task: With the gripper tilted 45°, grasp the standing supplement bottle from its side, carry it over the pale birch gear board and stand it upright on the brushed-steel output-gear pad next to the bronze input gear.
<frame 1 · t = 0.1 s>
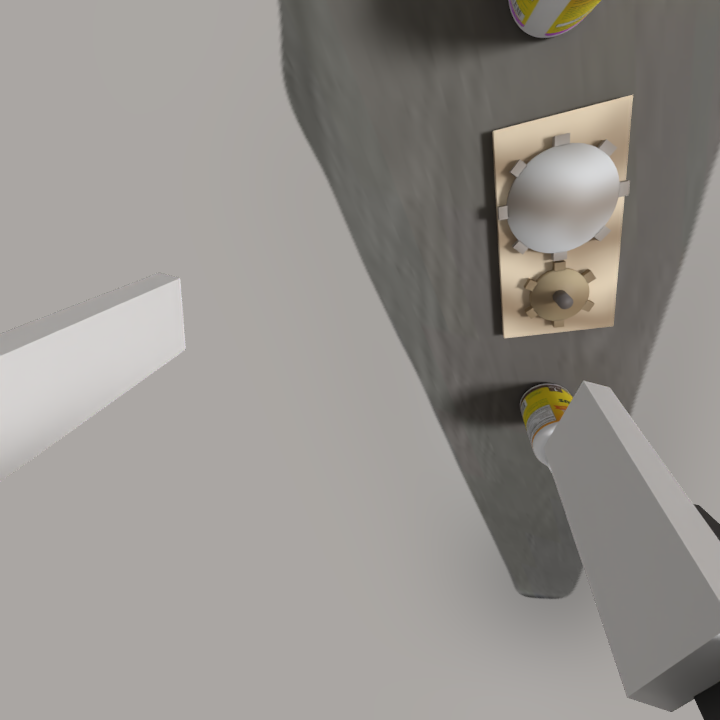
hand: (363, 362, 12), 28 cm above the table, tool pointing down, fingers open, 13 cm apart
supplement bottle 2: (544, 400, 42), on the table
gear board: (555, 234, 34), on the table
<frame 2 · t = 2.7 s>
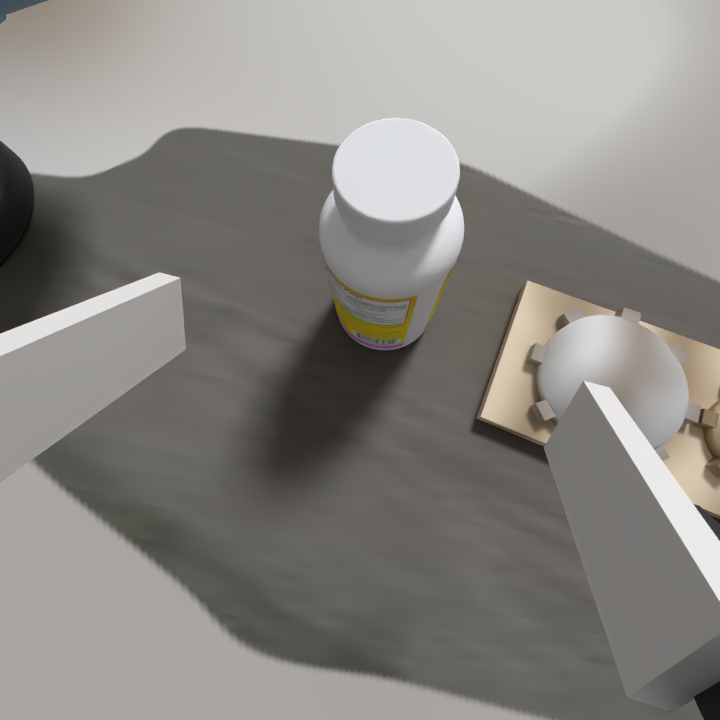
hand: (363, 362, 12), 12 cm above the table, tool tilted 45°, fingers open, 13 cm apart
supplement bottle: (383, 309, 26), on the table
gear board: (642, 405, 23), on the table
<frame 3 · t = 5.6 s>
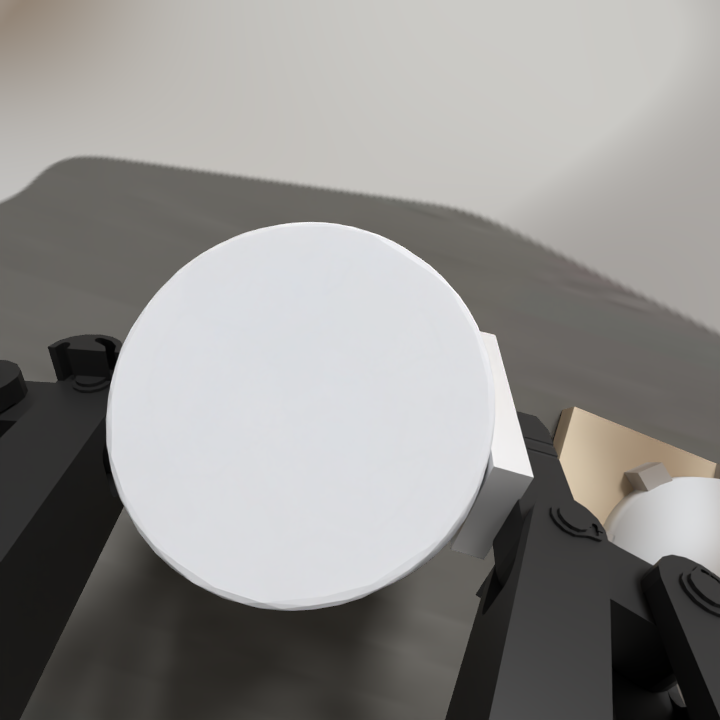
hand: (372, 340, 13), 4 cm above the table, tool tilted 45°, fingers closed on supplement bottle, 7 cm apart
supplement bottle: (351, 441, 17), on the table, touching gripper
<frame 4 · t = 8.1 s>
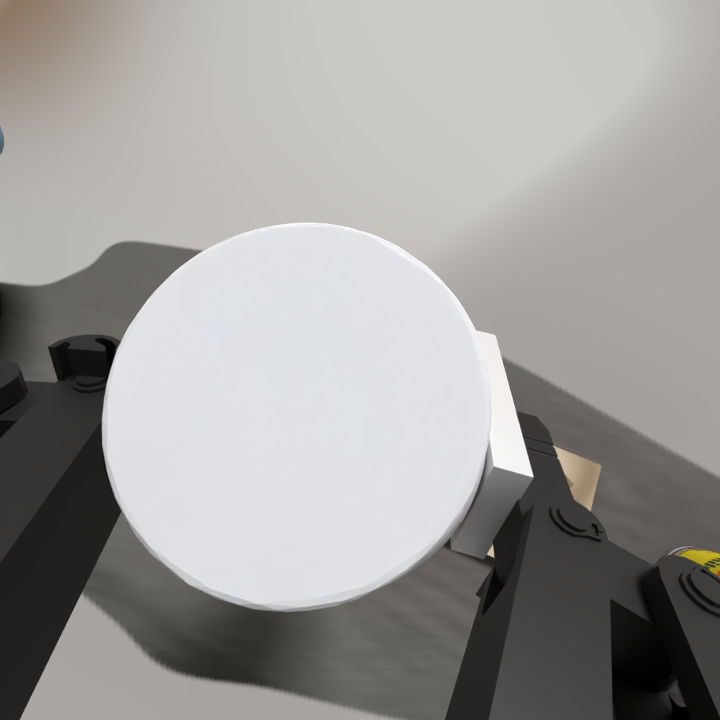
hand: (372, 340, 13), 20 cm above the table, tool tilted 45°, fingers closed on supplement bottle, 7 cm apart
supplement bottle: (350, 441, 17), point 15 cm above the table, touching gripper
supplement bottle 2: (687, 582, 29), on the table
gear board: (468, 476, 31), on the table
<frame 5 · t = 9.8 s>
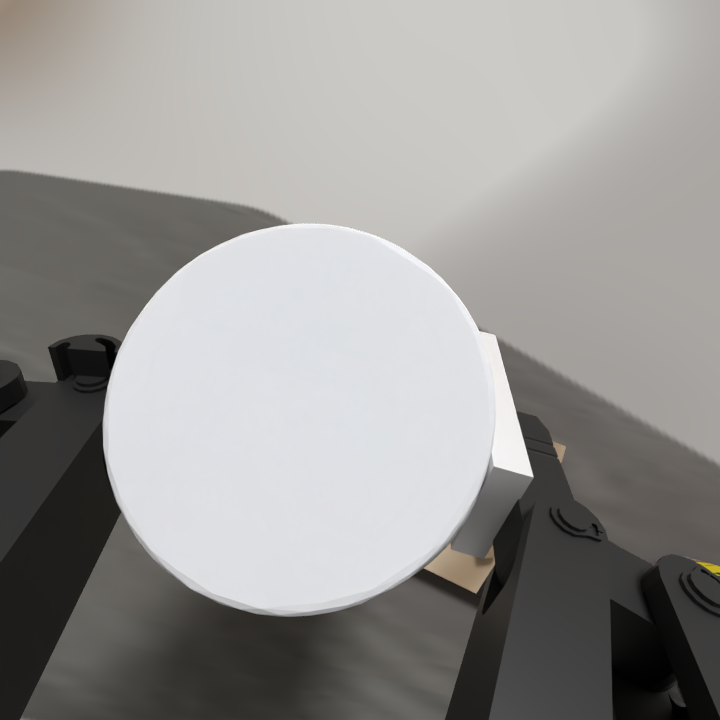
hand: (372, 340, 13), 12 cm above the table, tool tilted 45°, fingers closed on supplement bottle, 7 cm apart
supplement bottle: (351, 442, 17), point 7 cm above the table, touching gripper
gear board: (394, 459, 24), on the table
when the fingers open (7 cm above the table, at t = 11.0 s): supplement bottle drops 1 cm, resting on gear board.
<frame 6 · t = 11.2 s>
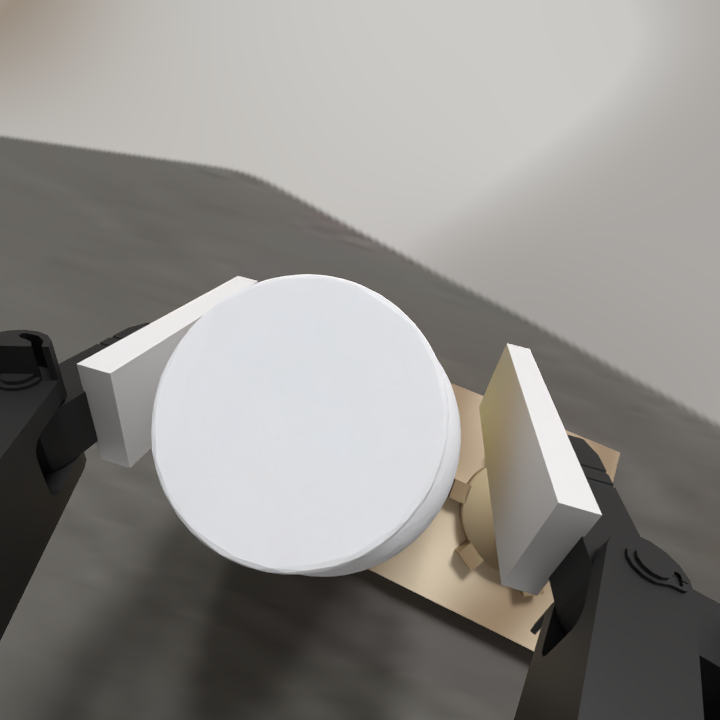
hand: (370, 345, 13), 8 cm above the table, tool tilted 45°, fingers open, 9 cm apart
supplement bottle: (348, 443, 18), point 2 cm above the table, touching gear board
gear board: (405, 467, 19), on the table
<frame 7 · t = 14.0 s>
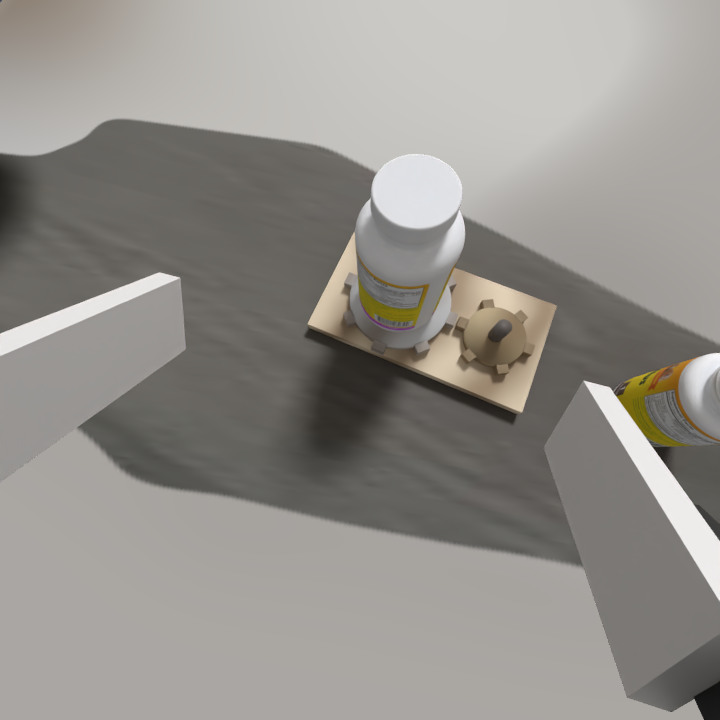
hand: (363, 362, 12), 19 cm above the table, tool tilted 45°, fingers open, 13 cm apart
supplement bottle: (397, 299, 31), point 2 cm above the table, touching gear board
supplement bottle 2: (637, 412, 30), on the table
gear board: (430, 319, 32), on the table
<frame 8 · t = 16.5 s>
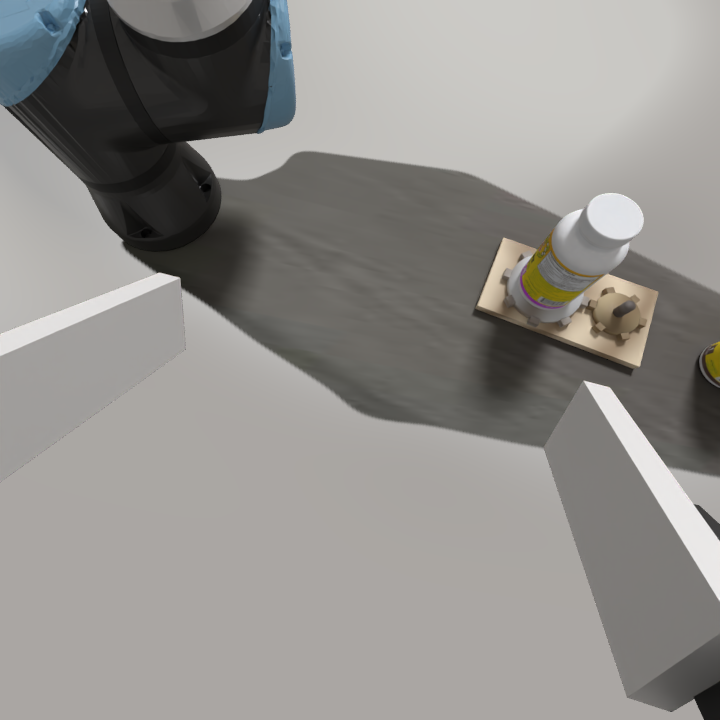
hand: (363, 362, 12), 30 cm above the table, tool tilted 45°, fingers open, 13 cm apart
supplement bottle: (543, 287, 43), point 2 cm above the table, touching gear board
supplement bottle 2: (719, 367, 42), on the table
gear board: (563, 302, 44), on the table
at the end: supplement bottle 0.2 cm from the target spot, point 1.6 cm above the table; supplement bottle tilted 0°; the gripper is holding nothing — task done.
